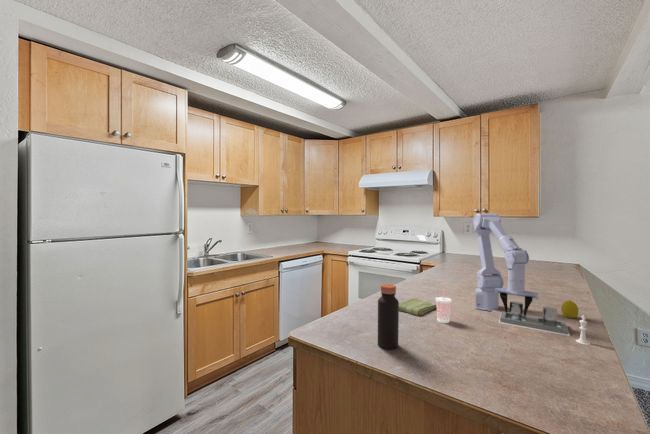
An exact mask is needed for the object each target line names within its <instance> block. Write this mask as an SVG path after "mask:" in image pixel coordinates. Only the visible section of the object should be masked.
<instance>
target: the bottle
mask: <svg viewBox="0 0 650 434" xmlns="http://www.w3.org/2000/svg"><path fill="white" fill-rule="evenodd" d="M396 293H397V286H396V285H394V284H390V283H383V284H381V285H380V294H381V296H380V297H379V298H378V300H377V346H378V347H380V348H381V349H383V350H394V349H397V348H398V347H399V326H400V325H399V314H400V312H399V303H400V302H399V300H398V299H397V298H396V295H397V294H396Z"/></svg>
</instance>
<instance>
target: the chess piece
mask: <svg viewBox="0 0 650 434" xmlns="http://www.w3.org/2000/svg"><path fill="white" fill-rule="evenodd" d="M580 317H581V318H582V319H580V320H579V323H580V326H579V327H578V329H580V334H579V335H580V336H579V338H578V339H575V341H576V342H577V343H578V344H581V345H586V346H587V345H591V342H589V341H588V340H587V338H586V337H587V336H586V331H588V328H587V327H586V326H587V325H588V321H586V317H585V315H584V314H583V315H581V316H580Z"/></svg>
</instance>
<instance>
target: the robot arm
mask: <svg viewBox="0 0 650 434" xmlns="http://www.w3.org/2000/svg"><path fill="white" fill-rule="evenodd" d="M501 219H502V217H500V215H499V214H498V213H479V212H478V213H475V215H474V217H473V219H472V223H473V229H474V232H475V233H476V238H477V245H478V250H479V251H478V252H479V256H480V265H481V269H479V271H477V272H476V285H477V287H476V289H475V301H474V303H475V304H474V306H475V307H474V308H475V309H477V310H482V311H487V312H493V310H499V306H500V305H499V304H500V303H499V302H500V300H499V299H501V302H502V304H503V306H504V312H506V313H507V312H509V311H508V310H509V308H508V307H509V306H508V295H509V296H515V297H516V296H517V297H523V298H524V307H523V308H524V310H523V315H524V316H526V315H527V312H528V309H529V308H530V305H531V304H532V302H533V299H535V300H539V293H538V292H533V291H529V290H525V286H526V285H525V281H526V265H527V264H528V263H529V261H530V256H529V253H528V251H527V250H526V249H523V248H522V247H520V246H519V245H518V244H517V242H516V241H515V239H514V237H512V236H511V235H507V233H506V230H505V229H504V227H503V225H502V224H501V222H502V220H501ZM491 233H493V234H494V235H495V237H496V238H497V239H498V241H497V242H498V245H499V247H500V249H502V251H503V253H504V260H505V263H506V268H507V287H505V288H504V285H505V282H504V278H503V275H502V274H501V271H499V270H498V268H496V267H495V261H494V255H493V250H492V244H491V243H492V242H491V238H490V237H491V236H490V234H491Z"/></svg>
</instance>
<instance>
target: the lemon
mask: <svg viewBox="0 0 650 434" xmlns="http://www.w3.org/2000/svg"><path fill="white" fill-rule="evenodd" d="M560 310H561V314H562V315H563V316H564V317H565V318H568V319H575V318H577V317H578V315H579V307H578V305H577V304H576V303H575V302H574V301H572V300H570V299H569V300H566V301H563V303H562V304H561V308H560Z"/></svg>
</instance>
